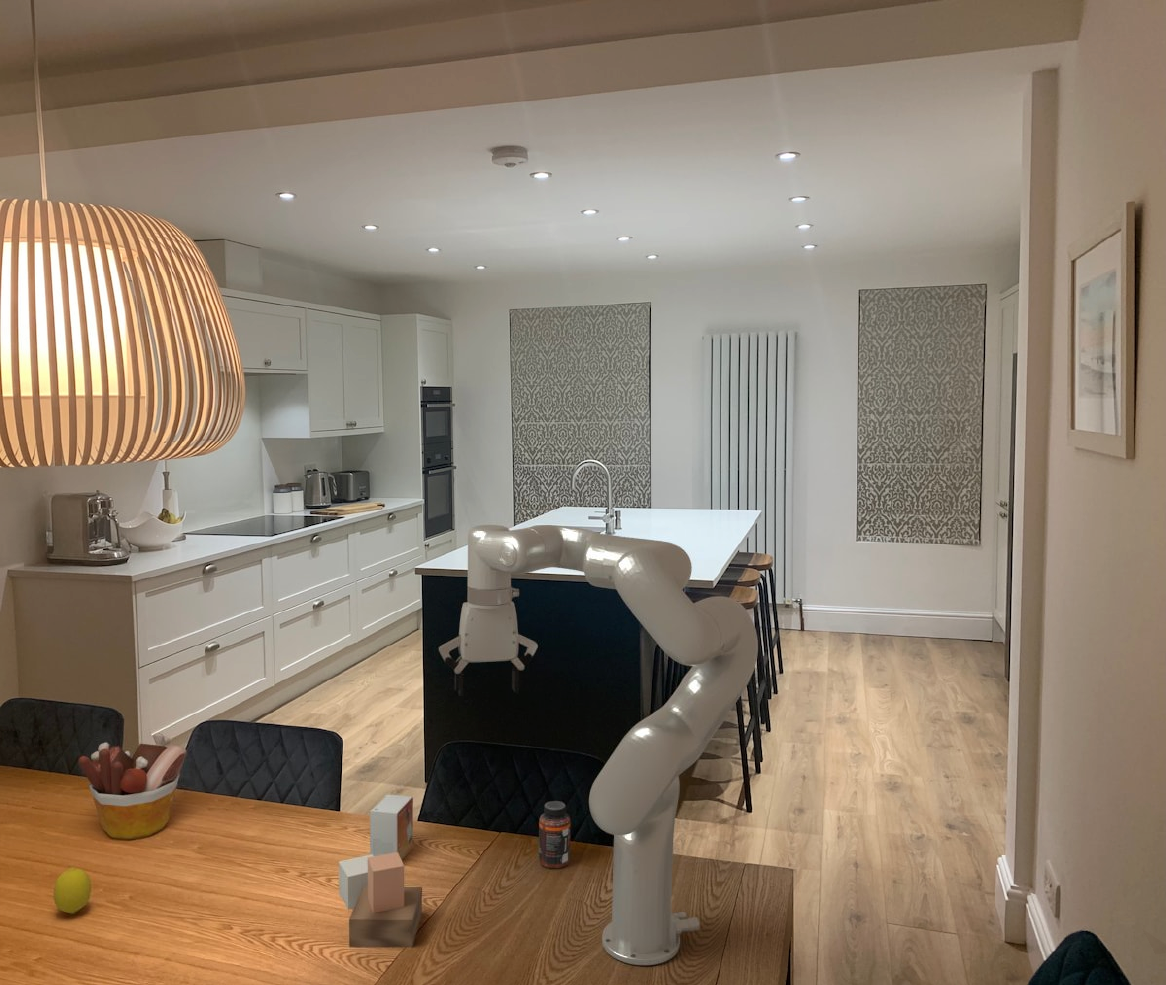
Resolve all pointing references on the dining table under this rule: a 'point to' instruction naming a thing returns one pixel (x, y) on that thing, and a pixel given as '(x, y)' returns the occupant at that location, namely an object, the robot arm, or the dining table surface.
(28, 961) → the dining table surface
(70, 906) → the lemon
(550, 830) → the supplement bottle
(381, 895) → the terracotta block
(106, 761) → the bucket of meat
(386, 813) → the small box
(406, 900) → the walnut block
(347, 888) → the grey cube
